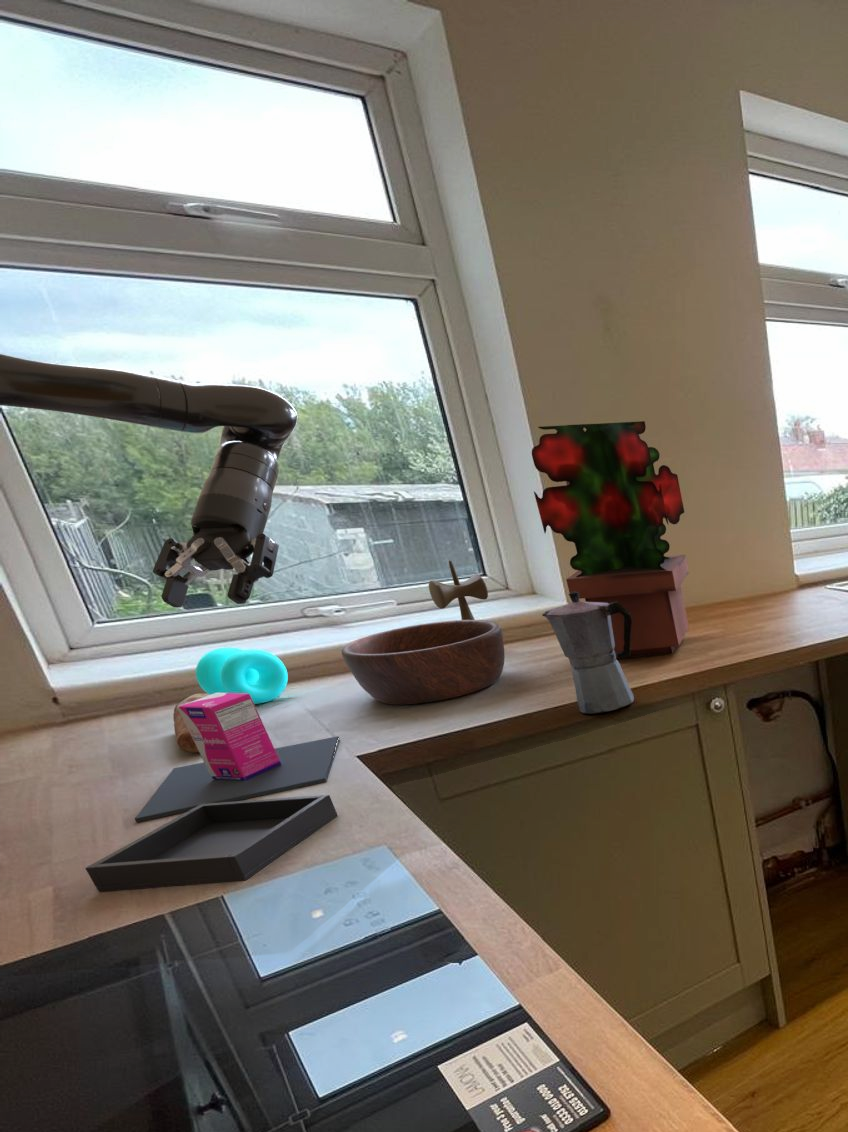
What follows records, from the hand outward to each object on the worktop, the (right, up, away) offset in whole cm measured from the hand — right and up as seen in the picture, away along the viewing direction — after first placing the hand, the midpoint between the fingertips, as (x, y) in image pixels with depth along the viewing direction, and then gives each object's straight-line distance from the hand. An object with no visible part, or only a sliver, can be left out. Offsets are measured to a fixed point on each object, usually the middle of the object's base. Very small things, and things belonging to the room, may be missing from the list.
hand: (204, 602), depth 113 cm
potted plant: (+36, +1, +61) cm, 71 cm away
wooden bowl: (+5, -9, +41) cm, 42 cm away
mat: (+1, -25, +5) cm, 25 cm away
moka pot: (+44, -13, +27) cm, 53 cm away
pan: (+18, -33, -16) cm, 41 cm away
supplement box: (+1, -24, +5) cm, 25 cm away
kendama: (-3, +1, +64) cm, 64 cm away
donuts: (-29, -11, +39) cm, 50 cm away
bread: (-20, -19, +21) cm, 35 cm away
